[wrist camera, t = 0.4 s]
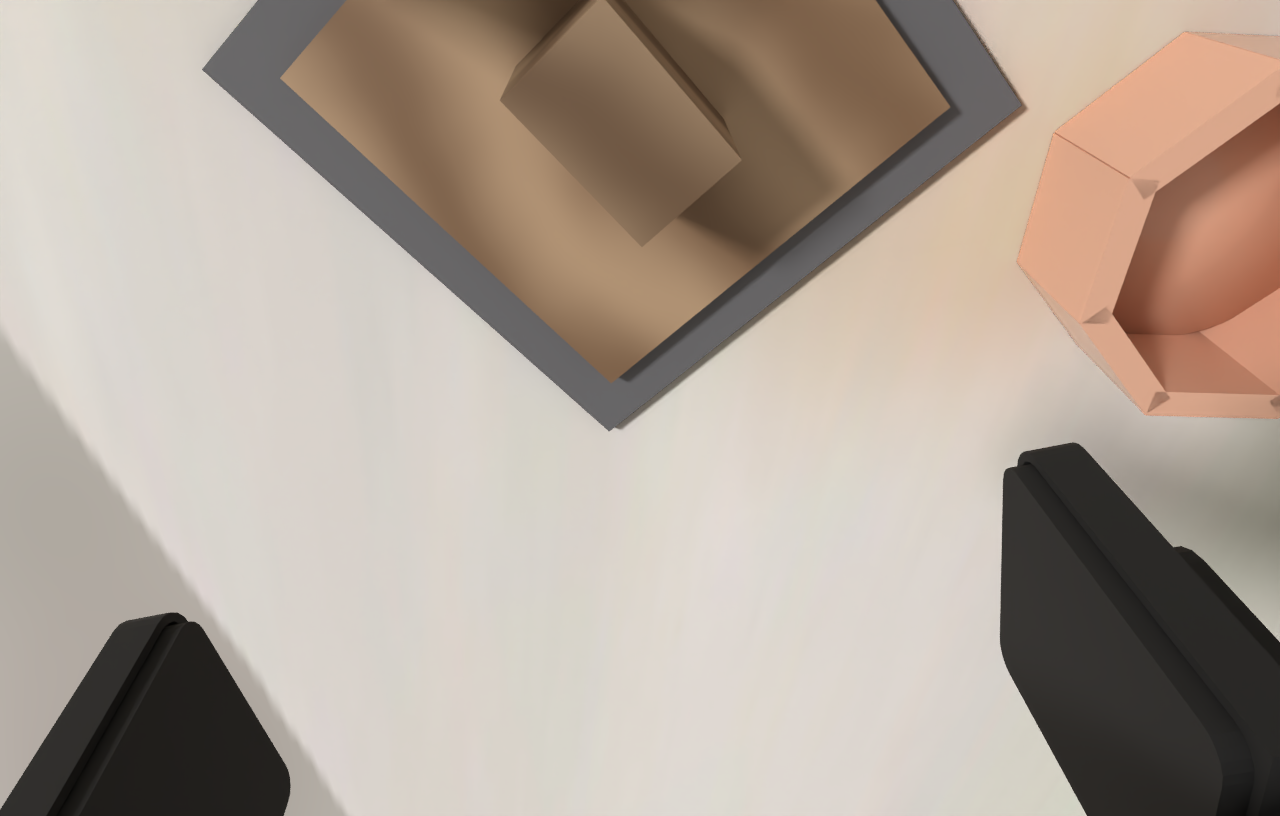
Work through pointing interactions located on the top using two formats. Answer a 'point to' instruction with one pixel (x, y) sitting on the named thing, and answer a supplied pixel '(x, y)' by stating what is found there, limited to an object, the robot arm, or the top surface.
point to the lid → (618, 138)
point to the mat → (251, 75)
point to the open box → (1171, 229)
